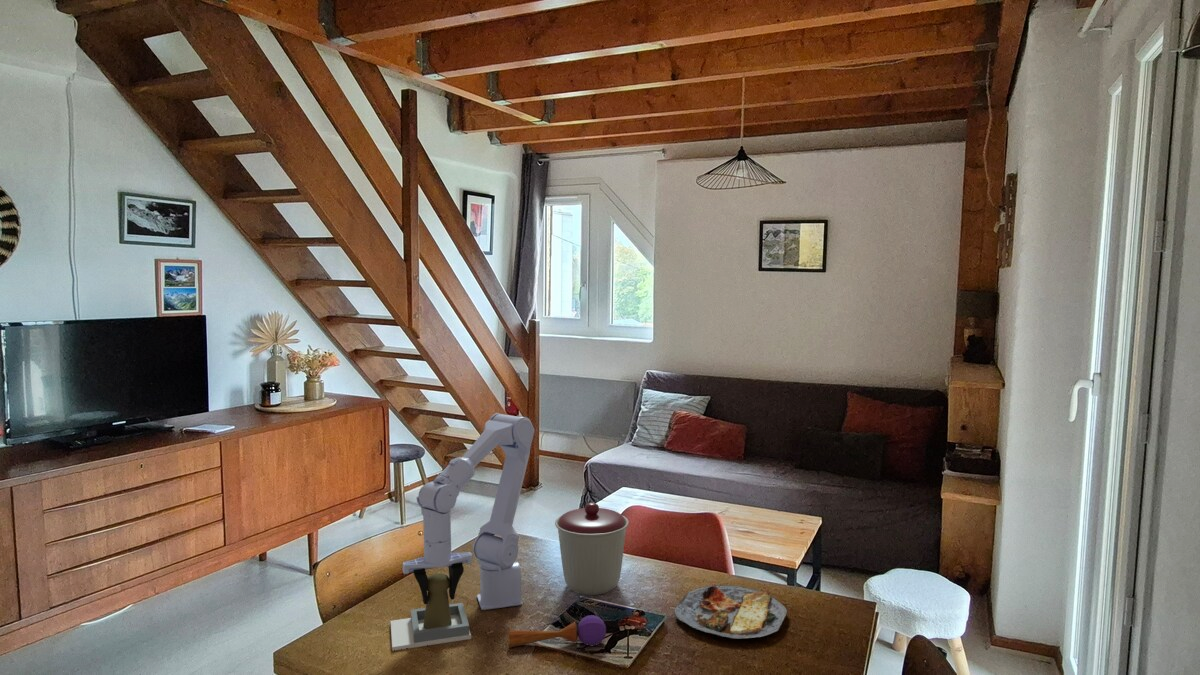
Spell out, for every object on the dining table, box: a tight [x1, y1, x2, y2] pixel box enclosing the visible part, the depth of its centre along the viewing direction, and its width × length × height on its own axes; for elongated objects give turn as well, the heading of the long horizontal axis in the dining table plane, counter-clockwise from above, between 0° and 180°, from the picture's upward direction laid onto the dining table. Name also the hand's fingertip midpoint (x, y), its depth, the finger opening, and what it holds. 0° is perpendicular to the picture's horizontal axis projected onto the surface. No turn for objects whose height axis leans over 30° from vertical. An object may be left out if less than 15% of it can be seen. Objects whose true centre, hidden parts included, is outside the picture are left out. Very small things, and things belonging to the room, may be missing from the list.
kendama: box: [508, 614, 607, 648], centre depth 149 cm, size 6×6×20 cm
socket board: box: [390, 602, 472, 652], centre depth 155 cm, size 16×12×3 cm
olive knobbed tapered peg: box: [423, 572, 452, 629], centre depth 156 cm, size 6×6×11 cm
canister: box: [554, 502, 630, 596], centre depth 177 cm, size 18×18×21 cm
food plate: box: [674, 584, 788, 640], centre depth 161 cm, size 25×23×4 cm
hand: (438, 599), depth 155 cm, fingers closed on olive knobbed tapered peg, 5 cm apart
